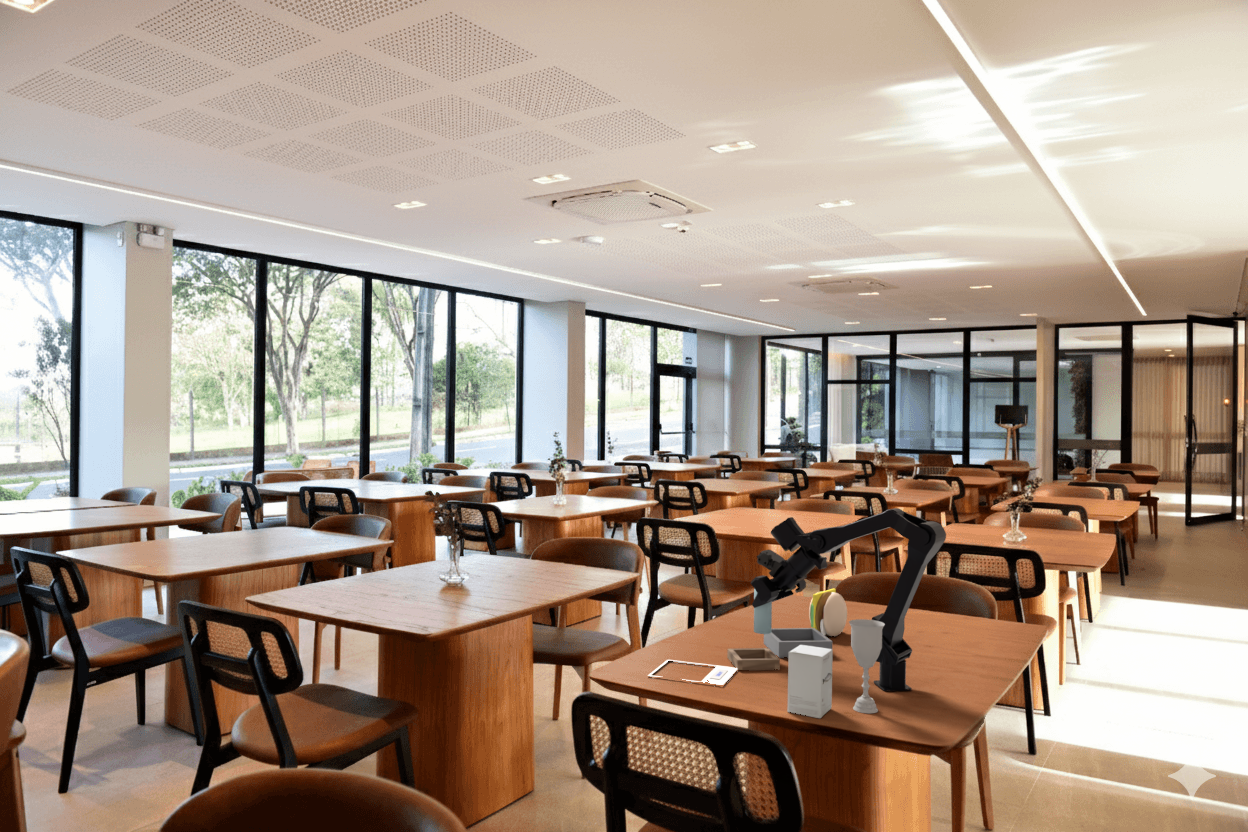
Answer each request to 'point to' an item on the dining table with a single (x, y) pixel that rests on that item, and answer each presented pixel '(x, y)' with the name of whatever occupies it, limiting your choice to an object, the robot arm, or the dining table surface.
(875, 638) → the chalice
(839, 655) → the dining table surface
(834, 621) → the hamburger
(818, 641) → the bin
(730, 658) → the holder
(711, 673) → the photo frame
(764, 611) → the pale blue tapered cylinder
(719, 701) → the dining table surface
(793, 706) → the supplement box
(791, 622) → the dining table surface
